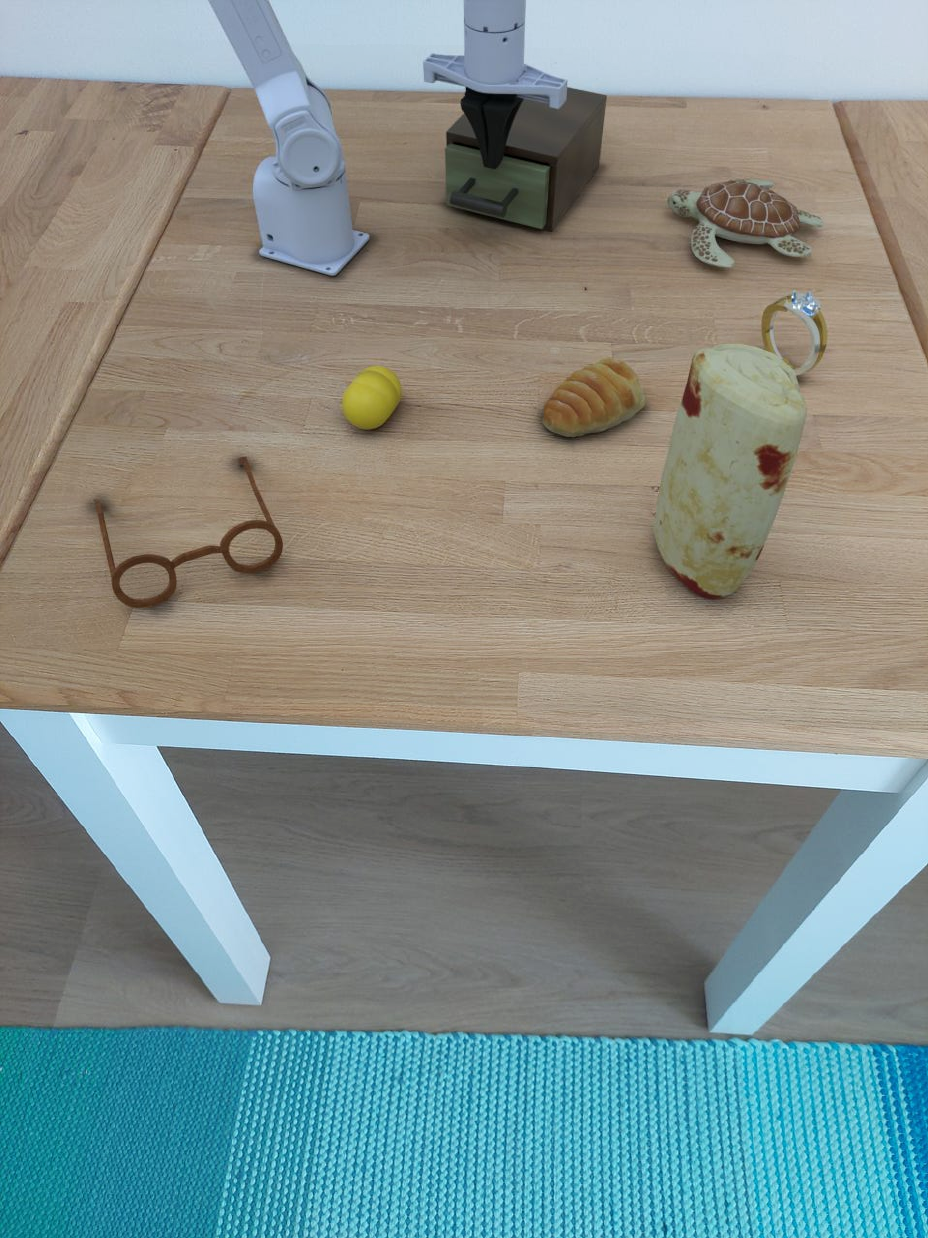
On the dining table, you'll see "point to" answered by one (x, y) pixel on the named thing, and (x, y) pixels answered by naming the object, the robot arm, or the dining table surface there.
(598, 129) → the cabinet
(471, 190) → the drawer
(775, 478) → the food model
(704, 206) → the decorative turtle
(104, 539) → the glasses
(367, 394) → the yellow capsule container
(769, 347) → the ring
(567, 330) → the dining table surface
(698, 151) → the dining table surface
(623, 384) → the pastry
